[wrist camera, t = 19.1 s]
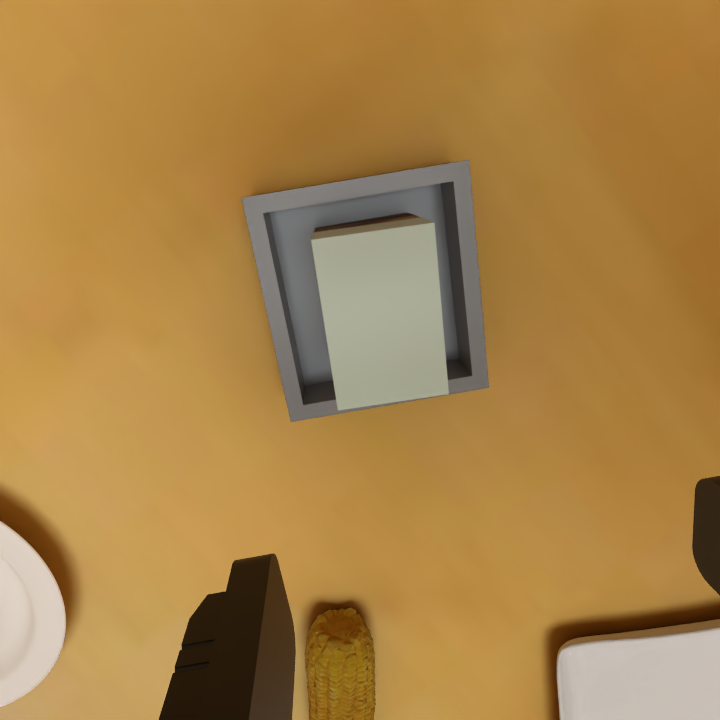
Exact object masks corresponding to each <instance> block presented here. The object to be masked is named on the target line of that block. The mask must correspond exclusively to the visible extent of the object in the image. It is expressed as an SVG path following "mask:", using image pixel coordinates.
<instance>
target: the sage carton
mask: <svg viewBox="0 0 720 720" xmlns="http://www.w3.org/2000/svg"><path fill="white" fill-rule="evenodd" d="M311 243H312V249H313V255H314V262H315V268H316V274H317V281H318V287H319V294H320V300H321V306H322V313H323V319H324V325H325V332H326V338H327V344H328V351H329V357H330V363H331V370H332V376H333V383H334V389H335V395H336V402H337V408H338V410H345V409H352V408H359V407H365V406H372V405H379V404H386V403H392V402H399V401H406V400H413V399H419V398H426V397H433V396H440V395H446V394H449V389H448V377H447V366H446V354H445V342H444V330H443V318H442V306H441V295H440V283H439V271H438V259H437V247H436V235H435V224H434V222H431V221H428V220H426V219H423V218H414V219H406V220H399V221H392V222H385V223H378V224H371V225H364V226H357V227H349V228H342V229H335V230H328V231H321V232H314V233H312V238H311Z"/></svg>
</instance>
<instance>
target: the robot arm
mask: <svg viewBox="0 0 720 720" xmlns="http://www.w3.org/2000/svg"><path fill="white" fill-rule="evenodd" d="M692 546H693V555H694V559H695V562H696V564H697V567H698V569H699V571H700V573H701V574H702V576H703V577H704V579H705V580H706V581H707V583H708V584H709V585H710V586H711V587H712V588H713V589H714V590H715V591H716V592H717V593H718V594H719V595H720V476H716V477H711V478H705V479H701V480H700V481H699V482H698V483H697V485H696V488H695V503H694V524H693V544H692ZM295 653H296V649H295V633H294V625H293V620H292V615H291V611H290V607H289V603H288V599H287V595H286V591H285V587H284V583H283V579H282V575H281V571H280V567H279V563H278V560H277V557H276V555H275V554H268V555H262V556H257V557H251V558H245V559H240V560H235V561H234V562H233V564H232V568H231V572H230V577H229V581H228V585H227V589H226V592H220V593H214V594H209V595H207V596H206V598H205V599H204V600H203V602H202V603H201V604H200V606H199V607H198V608H197V610H196V611H195V612H194V614H193V615H192V616H191V618H190V619H189V622H188V625H187V629H186V632H185V635H184V639H183V642H182V650H180V652H179V655H178V658H177V662H176V665H175V673H173V675H172V678H171V681H170V684H169V688H168V691H167V694H166V698H165V701H164V704H163V707H162V711H161V714H160V717H159V720H292V708H293V690H294V672H295Z"/></svg>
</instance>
